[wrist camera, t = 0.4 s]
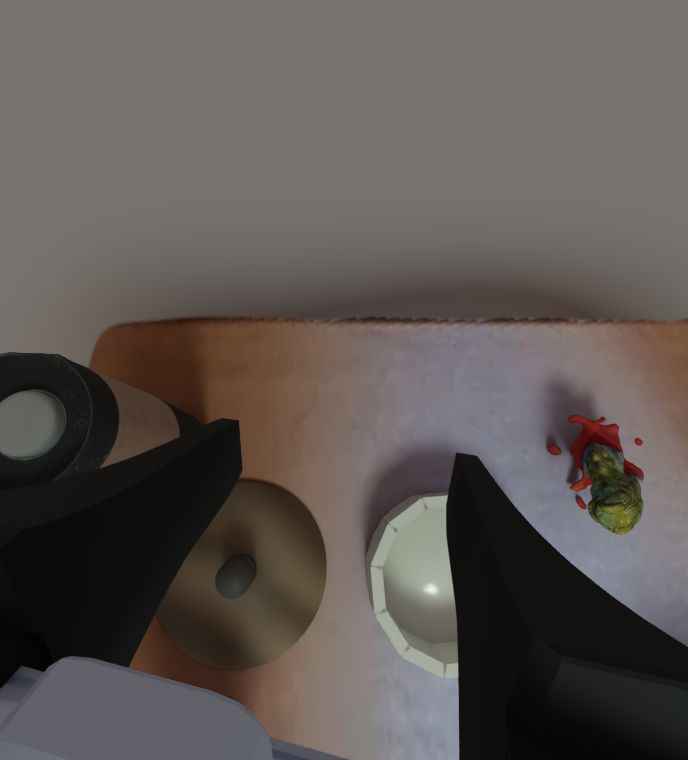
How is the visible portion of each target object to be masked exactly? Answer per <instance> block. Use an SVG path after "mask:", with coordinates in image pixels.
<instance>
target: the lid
mask: <svg viewBox="0 0 688 760" xmlns="http://www.w3.org/2000/svg"><path fill="white" fill-rule="evenodd" d="M325 581H326V556H325V549H324V545H323V541H322V538H321V535H320V532H319V530H318V528H317V526H316V524H315V522H314V520H313V518H312V517H311V516H310V514H309V513H308V512H307V510H306V509H305V508H304V507H303V506H302V505H301V504H300V503H299V502H298V501H297V500H296V499H294V498H293V497H292V496H291V495H289V494H287V493H286V492H284V491H282V490H280V489H278V488H275V487H273V486H270V485H266V484H263V483H256V482H237V483H236V484H235V486H234V488H233V490H232V492H231V494H230V495H229V497H228V498H227V500H226V501H225V503H224V504H223V506H222V507H221V509H220V510H219V511H218V513H217V514H216V516H215V517H214V519H213V520H212V521H211V523H210V524H209V526H208V527H207V528H206V530H205V531H204V533H203V534H202V536H201V537H200V538H199V540H198V541H197V543H196V544H195V545H194V547H193V548H192V550H191V551H190V553H189V554H188V556H187V557H186V559H185V561H184V562H183V564H182V566H181V567H180V569H179V571H178V573H177V574H176V576H175V578H174V580H173V582H172V583H171V585H170V587H169V589H168V590H167V592H166V594H165V596H164V598H163V600H162V602H161V604H160V605H159V607H158V609H157V611H156V613H157V616H158V619H159V621H160V623H161V625H162V627H163V629H164V631H165V632H166V634H167V635H168V637H169V638H170V640H171V641H172V642H173V643H174V644H175V645H176V647H178V648H179V649H180V650H181V651H182V652H183V653H184V654H186V655H187V656H189V657H190V658H192V659H193V660H195V661H197V662H199V663H202V664H204V665H206V666H210V667H214V668H217V669H226V670H239V669H246V668H252V667H256V666H258V665H261V664H264V663H267V662H269V661H271V660H273V659H275V658H277V657H278V656H279V655H281V654H282V653H284V652H285V651H287V650H288V649H289V648H290V647H291V646H292V645H294V644H295V643H296V642H297V641H298V640H299V638H300V637H301V636H302V635H303V634H304V633H305V631H306V630H307V628H308V627H309V625H310V624H311V622H312V620H313V619H314V617H315V615H316V613H317V611H318V608H319V605H320V603H321V600H322V596H323V592H324V588H325Z"/></svg>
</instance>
